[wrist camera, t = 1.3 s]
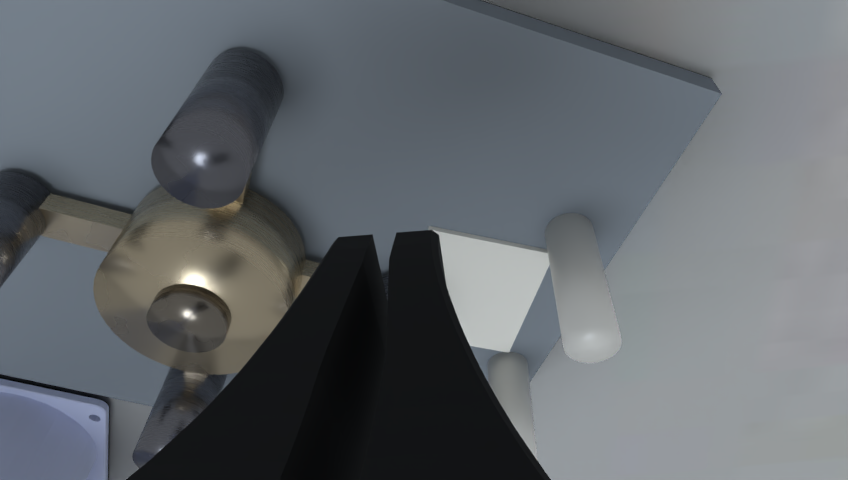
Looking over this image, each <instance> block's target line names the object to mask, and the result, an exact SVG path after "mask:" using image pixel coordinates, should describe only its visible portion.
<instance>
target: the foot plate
mask: <svg viewBox="0 0 848 480" xmlns="http://www.w3.org/2000/svg"><path fill="white" fill-rule="evenodd" d="M230 50H247V51H251V52H253V53H256V54H258V55H260V56H262V57H263V58H265V59H266V60H267V61H269V62H270V63H271V64H272V65H273V66H274V68H275V69H276V70H277V72H278V73H279V75H280V77H281V79H282V83H283V88H284V95H283V100H282V103H281V105H280V108H279V110H278V112H277V114H276V117H275V119H274V121H273V124H272V126H271V128H270V131H269V133H268V135H267V137H266V140H265V142H264V144H263V147H262V149H261V151H260V153H259V156H258V158H257V160H256V163H255V165H254V167H253V169H252V173H251V179H250V185H249V189H250V190H252V191H254V192H256V193H258V194H260V195H261V196H263V197H265V198H266V199H268V200H269V201H271V202H272V203H273V204H275V205H276V206H277V207H278V208H279V209H280V210H282V211H283V212H284V213H285V214H286V216H287V217H288V218H289V219H290V220H291V221H292V223H293V224H294V226H295V227H296V228H297V230H298V232H299V234H300V236H301V238H302V241H303V244H304V247H305V252H306V259H307V260H311V261H315V262H318V263H320V262H321V261H322V259H323V258H324V256H325V255H326V253H327V252H328V250H329V248H330V247H331V245H332V244H333V242H334V241H335V240H336V239H337V238H338V237H345V236H358V235H371V234H373V239H374V243H375V248H376V252H377V256H378V261H379V265H380V269H381V274H382V277H383V276H385V275H389V258H390V254H391V250H392V246H393V242H394V239H395V236H396V233H397V232H410V231H423V230H428V227H429V226H432V227H437V228H442V229H447V230H452V231H457V232H462V233H467V234H472V235H477V236H482V237H487V238H492V239H497V240H502V241H507V242H512V243H517V244H522V245H527V246H532V247H537V248H542V249H547V245H546V239H545V229H546V227H547V225H548V224H549V222H550V221H551V220H552V219H554V218H555V217H557V216H559V215H562V214H566V213H577V214H581V215H583V216H585V217H586V218H588V219H589V220H590V221H591V223H592V226H593V229H594V233H595V237H596V241H597V245H598V249H599V252H600V256H601V260H602V264H603V268H604V270H605V269H606V267H607V266H608V264H609V263H610V261H611V260H612V258H613V257H614V255H615V254H616V252H617V251H618V249H619V248H620V246H621V245H622V243H623V242H624V240H625V239H626V237H627V236H628V234H629V233H630V231H631V230H632V228H633V227H634V225H635V224H636V222H637V221H638V219H639V218H640V216H641V215H642V213H643V212H644V210H645V209H646V207H647V206H648V204H649V203H650V201H651V200H652V198H653V197H654V195H655V194H656V192H657V191H658V189H659V188H660V186H661V185H662V183H663V182H664V180H665V179H666V177H667V176H668V174H669V173H670V171H671V170H672V168H673V167H674V165H675V164H676V162H677V161H678V159H679V158H680V156H681V155H682V153H683V152H684V150H685V149H686V147H687V146H688V144H689V143H690V141H691V140H692V138H693V137H694V135H695V133H696V132H697V130H698V129H699V127H700V126H701V124H702V123H703V121H704V120H705V118H706V117H707V115H708V114H709V112H710V111H711V109H712V108H713V106H714V105H715V103H716V102H717V100H718V99H719V97H720V96H721V94H722V93H721V92H720V90H719V89H718V87H717V86H716V84H715V83H714V81H713V80H712V78H709V77H706V76H703V75H700V74H697V73H694V72H691V71H688V70H685V69H682V68H679V67H676V66H673V65H670V64H667V63H665V62H662V61H659V60H656V59H653V58H650V57H647V56H644V55H641V54H638V53H635V52H632V51H629V50H626V49H623V48H620V47H617V46H614V45H611V44H608V43H605V42H602V41H599V40H596V39H593V38H590V37H587V36H585V35H582V34H579V33H576V32H573V31H570V30H567V29H564V28H561V27H558V26H555V25H552V24H549V23H546V22H543V21H540V20H537V19H534V18H531V17H528V16H525V15H522V14H519V13H516V12H513V11H510V10H507V9H505V8H502V7H499V6H496V5H493V4H490V3H487V2H484V1H481V0H0V173H3V172H14V173H20V174H23V175H26V176H28V177H31V178H32V179H34V180H36V181H38V182H39V183H40V184H42V185H43V186H44V187H45V188H46V189H47V190H48V191H49V192H50V193H51V194H55V195H59V196H63V197H66V198H70V199H74V200H78V201H82V202H86V203H90V204H94V205H97V206H101V207H105V208H109V209H113V210H117V211H121V212H125V213H128V214H133V212H134V211H135V209H136V208H137V206H138V204H139V203H140V202H141V201H142V200H143V198H144V197H145V196H146V195H148V194H149V193H150V192H151V191H153V190H154V189H156V188H158V187H160V186H161V184H160V183H159V182H158V180H157V179H156V177H155V175H154V172H153V169H152V165H151V155H152V151H153V148H154V146H155V144H156V143H157V141H158V140H159V138H160V137H161V136H162V134H163V133H164V131H165V130H166V128H167V127H168V125H169V124H170V122H171V121H172V119H173V118H174V116H175V115H176V113H177V112H178V111H179V109H180V108H181V106H182V105H183V103H184V102H185V100H186V99H187V97H188V96H189V94H190V93H191V91H192V90H193V88H194V87H195V86H196V84H197V83H198V81H199V80H200V78H201V77H202V75H203V74H204V72H205V71H206V69H207V68H208V66H209V65H210V64H211V62H212V61H213V60H214V59H215V58H216V57H217V56H218V55H220V54H221V53H224V52H226V51H230ZM107 253H108V252H104V251H100V250H96V249H92V248H88V247H84V246H80V245H76V244H72V243H68V242H64V241H60V240H56V239H52V238H48V237H44V236H40V238H39V239H38V240H37V241H36V243H35V244H34V245H33V247H32V248H31V249H30V250H29V252H28V253H27V254H26V256H25V257H24V258H23V259H22V261H21V262H20V263H19V265H18V266H17V267H16V268H15V270H14V271H13V272H12V274H11V275H10V276H9V277H8V279H7V280H6V281H5V282H4V284H3V285H2V286H1V288H0V374H2V375H7V376H12V377H16V378H21V379H26V380H30V381H35V382H40V383H44V384H49V385H54V386H59V387H63V388H68V389H73V390H77V391H82V392H87V393H91V394H96V395H101V396H105V397H110V398H115V399H120V400H124V401H129V402H134V403H138V404H143V405H148V406H152V407H153V406H154V404H155V401H156V399H157V397H158V394H159V392H160V390H161V388H162V385H163V383H164V381H165V378H166V376H167V374H168V371H169V369H170V367H169V366H166V365H163V364H161V363H158V362H156V361H154V360H152V359H150V358H148V357H146V356H144V355H142V354H140V353H139V352H137V351H136V350H134V349H133V348H131V347H130V346H128V345H127V344H126V343H125V342H123V341H122V340H121V339H120V338H119V337H118V336H117V335H116V334H115V333H114V332H113V331H112V330H111V329H110V328H109V326H108V325H107V324H106V323H105V321H104V320H103V318H102V316H101V315H100V313H99V310H98V308H97V306H96V302H95V299H94V292H93V285H94V278H95V275H96V272H97V270H98V268H99V266H100V265H101V263H102V261H103V260H104V258H105V257H106V255H107ZM560 336H561V331H560V325H559V318H558V312H557V306H556V300H555V294H554V288H553V282H552V276H551V270H550V265H549V267H548V269H547V271H546V274H545V276H544V278H543V280H542V282H541V284H540V287H539V289H538V291H537V293H536V295H535V297H534V300H533V302H532V304H531V306H530V308H529V310H528V313H527V315H526V317H525V319H524V321H523V323H522V326H521V328H520V330H519V332H518V334H517V336H516V339H515V341H514V343H513V345H512V347H511V349H510V352H515V353H518V354H521V355H522V356H524V357H525V359H526V360H527V363H528V373H529V382H530V381H531V380H532V378H533V377H534V375H535V374H536V372H537V371H538V369H539V368H540V366H541V365H542V363H543V362H544V360H545V359H546V357H547V356H548V354H549V353H550V351H551V350H552V348H553V347H554V345H555V344H556V342H557V341H558V339H559V338H560ZM470 347H471V349H472V351H473V354H474V356H475V358H476V360H477V362H478V364H479V366H480V368H481V370H482V372H483V374H484V375H485V377H486V379H487V381H488V361H489V360H490V358H491V357H492V356H494V355H496V354H498V353H501V351H496V350H490V349H485V348H479V347H474V346H470ZM236 375H237V373H232V374H228V375H227V378H226V381H225V384H224V387H223V389H224V388H225V387H226V386H227V385H228V384H229V382H230V381H231V380H232V379H233V378H234V377H235V376H236Z"/></svg>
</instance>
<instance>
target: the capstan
mask: <svg viewBox="0 0 848 480" xmlns="http://www.w3.org/2000/svg"><path fill="white" fill-rule="evenodd" d="M283 95H284V88H283V83H282V79H281V77H280V75H279V73H278V72H277V70H276V69H275V68H274V66H273V65H272V64H271V63H270V62H269V61H267V60H266V59H265V58H263V57H262V56H260V55H258V54H256V53H253V52H251V51H247V50H230V51H226V52H224V53H221V54H220V55H218V56H217V57H216V58H215V59H214V60H213V61H212V62H211V64H210V65H209V66H208V68H207V69H206V71H205V72H204V74H203V75H202V77H201V78H200V80H199V81H198V83H197V84H196V86H195V87H194V88H193V90H192V91H191V93H190V94H189V96H188V97H187V99H186V100H185V102H184V103H183V105H182V106H181V108H180V109H179V111H178V112H177V113H176V115H175V116H174V118H173V119H172V121H171V122H170V124H169V125H168V127H167V128H166V130H165V131H164V133H163V134H162V136H161V137H160V138H159V140H158V141H157V143H156V144H155V146H154V148H153V151H152V155H151V165H152V169H153V172H154V175H155V177H156V179H157V180H158V182H159V183H160V184H161V186H160V187H158V188H156V189H154V190H153V191H151V192H150V193H149V194H148V195H146V196H145V197H144V198H143V200H142V201H141V202H140V203H139V204H138V206H137V208H136V209H135V211H134V212H133V214H128V213H125V212H121V211H117V210H113V209H109V208H105V207H101V206H97V205H94V204H90V203H86V202H82V201H78V200H74V199H70V198H66V197H63V196H59V195H55V194H51V193H50V192H49V191H48V190H47V189H46V188H45V187H44V186H43V185H42V184H40V183H39V182H38V181H36V180H34V179H32V178H31V177H28V176H26V175H23V174H20V173H14V172H3V173H0V288H1V286H2V285H3V284H4V282H5V281H6V280H7V279H8V277H9V276H10V275H11V274H12V272H13V271H14V270H15V268H16V267H17V266H18V265H19V263H20V262H21V261H22V259H23V258H24V257H25V256H26V254H27V253H28V252H29V250H30V249H31V248H32V247H33V245H34V244H35V243H36V241H37V240H38V239H39V238H40V236H44V237H48V238H52V239H56V240H60V241H64V242H68V243H72V244H76V245H80V246H84V247H88V248H92V249H96V250H100V251H104V252H108V253H107V255H106V257H105V258H104V260H103V261H102V263H101V265H100V266H99V268H98V270H97V272H96V275H95V278H94V285H93V292H94V299H95V302H96V306H97V308H98V310H99V313H100V315H101V316H102V318H103V320H104V321H105V323H106V324H107V325H108V326H109V328H110V329H111V330H112V331H113V332H114V333H115V334H116V335H117V336H118V337H119V338H120V339H121V340H122V341H123V342H125V343H126V344H127V345H128V346H130V347H131V348H133V349H134V350H136V351H137V352H139V353H140V354H142V355H144V356H146V357H148V358H150V359H152V360H154V361H156V362H158V363H161V364H163V365H166V366H169V367H170V369H169V371H168V374H167V376H166V378H165V381H164V383H163V385H162V388H161V390H160V392H159V394H158V397H157V399H156V401H155V404H154V406H153V408H152V411H151V413H150V415H149V418H148V420H147V422H146V425H145V427H144V429H143V432H142V434H141V436H140V439H139V441H138V443H137V446H136V448H135V450H134V453H133V460H134V462H135V464H136V465H137V466H138V467H139V468H141V467H142V466H143V465H145V464H146V463H147V462H148V461H149V460H150V459H152V458H153V457H154V456H155V455H156V454H157V453H158V452H159V451H160V450H161V449H163V448H164V447H165V446H166V445H167V444H168V443H169V442H170V441H171V440H172V439H173V438H175V437H176V436H177V435H178V434H179V433H180V432H181V431H182V430H183V429H184V428H185V427H187V426H188V425H189V424H190V423H191V422H192V421H193V420H194V419H195V418H196V417H197V416H198V415H199V414H200V413H201V412H202V411H203V410H204V409H205V408H206V407H207V406H208V405H209V404H210V403H211V402H212V401H213V400H214V399H215V398H216V396H217V395H218V394H219V393H220V392H221V391H222V390H223V387H224V384H225V381H226V378H227V375H228V374H232V373H238V372H239V371H240V370H241V369H242V368H243V367H244V365H245V364H246V363H247V362H248V361H249V359H250V358H251V357H252V356H253V354H254V353H255V352H256V351H257V349H258V348H259V347H260V346H261V344H262V343H263V342H264V341H265V339H266V338H267V337H268V336H269V334H270V333H271V332H272V331H273V329H274V328H275V327H276V325H277V324H278V323H279V321H280V320H281V319H282V317H283V316H284V315H285V313H286V312H287V310H288V309H289V308H290V306H291V305H292V303H293V302H294V301H295V299H296V298H297V296H298V295H299V294H300V292H301V291H302V289H303V288H304V286H305V285H306V283H307V282H308V280H309V279H310V278H311V276H312V275H313V273H314V272H315V270H316V269H317V267H318V265H319V264H320V263H318V262H315V261H311V260H307V259H306V252H305V247H304V244H303V241H302V238H301V236H300V234H299V232H298V230H297V228H296V227H295V226H294V224H293V223H292V221H291V220H290V219H289V218H288V217H287V216H286V214H285V213H284V212H283V211H282V210H280V209H279V208H278V207H277V206H276V205H275V204H273V203H272V202H271V201H269V200H268V199H266V198H265V197H263V196H261V195H260V194H258V193H256V192H254V191H252V190H250V189H249V185H250V179H251V173H252V169H253V167H254V165H255V163H256V160H257V158H258V156H259V153H260V151H261V149H262V147H263V144H264V142H265V140H266V137H267V135H268V133H269V131H270V128H271V126H272V124H273V121H274V119H275V117H276V114H277V112H278V110H279V108H280V105H281V103H282V100H283ZM388 276H389V275H385V276H383V277H382V278H383V283H384V287H385V291H386V296H387V300H388Z"/></svg>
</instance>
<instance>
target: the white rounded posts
mask: <svg viewBox="0 0 848 480" xmlns="http://www.w3.org/2000/svg"><path fill="white" fill-rule="evenodd" d="M428 230H433V231H434V232H436V233H437V234H438V235H439V239H440V245H441V252H442V259H443V266H444V273H445V279H446V286H447V289H448V292H449V295H450V298H451V301H452V304H453V306H454V309H455V312H456V314H457V317H458V320H459V322H460V325H461V327H462V329H463V332H464V334H465V336H466V338H467V341H468V343H469V345H470V346H474V347H479V348H485V349H490V350H496V351H501V353H498V354H496V355H494V356H492V357H491V358H490V360H489V361H488V383H489V385H490V386H491V388H492V390H493V392H494V394H495V395H496V397H497V399H498V401H499V402H500V404H501V406H502V407H503V409H504V411H505V412H506V414H507V416H508V417H509V419H510V421H511V422H512V424H513V425H514V427H515V429H516V430H517V431H518V433H519V434H520V436H521V437H522V439H523V440H524V442H525V443H526V445H527V446H528V448H529V449H530V451H531V452H532V454H533V455H534V456H535V458H536V459H537V461H538V457H537V448H536V439H535V429H534V420H533V410H532V401H531V391H530V382H529V373H528V363H527V360H526V359H525V357H524V356H522V355H521V354H518V353H515V352H510V349H511V347H512V345H513V343H514V341H515V339H516V336H517V334H518V332H519V330H520V328H521V326H522V323H523V321H524V319H525V317H526V315H527V313H528V310H529V308H530V306H531V304H532V302H533V300H534V297H535V295H536V293H537V291H538V289H539V287H540V284H541V282H542V280H543V278H544V276H545V274H546V271H547V269H548V267H549V265H550V270H551V276H552V282H553V288H554V294H555V300H556V306H557V312H558V318H559V325H560V331H561V337H562V343H563V349H564V352H565V353H566V355H567V356H568V357H569V358H571V359H573V360H575V361H577V362H581V363H598V362H602V361H605V360H607V359H609V358H611V357H613V356H614V355H615V354H616V353H617V352H618V351H619V350H620V348H621V345H622V338H621V334H620V330H619V326H618V322H617V318H616V314H615V310H614V307H613V303H612V299H611V295H610V291H609V287H608V283H607V280H606V276H605V272H604V268H603V264H602V260H601V256H600V252H599V249H598V245H597V241H596V237H595V233H594V229H593V226H592V223H591V221H590V220H589V219H588V218H586V217H585V216H583V215H581V214H577V213H566V214H562V215H559V216H557V217H555V218H554V219H552V220H551V221H550V222H549V224H548V225H547V227H546V229H545V239H546V245H547V249H542V248H537V247H532V246H527V245H522V244H517V243H512V242H507V241H502V240H497V239H492V238H487V237H482V236H477V235H472V234H467V233H462V232H457V231H452V230H447V229H442V228H437V227H432V226H429V227H428Z"/></svg>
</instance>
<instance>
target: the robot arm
mask: <svg viewBox="0 0 848 480" xmlns="http://www.w3.org/2000/svg"><path fill="white" fill-rule="evenodd" d="M108 434H109V406H108V404H107V403H106V402H104V401H102V400H99V399H95V398H91V397H86V396H81V395H77V394H72V393H67V392H62V391H58V390H53V389H48V388H43V387H39V386H34V385H29V384H25V383H20V382H15V381H10V380H6V379H1V378H0V480H108ZM126 480H551V479H550V478H549V477H548V475H547V474H546V473H545V471H544V470H543V468H542V467H541V465H540V464H539V462H538V461H537V459H536V458H535V456H534V455H533V454H532V452H531V451H530V449H529V448H528V446H527V445H526V443H525V442H524V440H523V439H522V437H521V436H520V434H519V433H518V431H517V430H516V429H515V427H514V425H513V424H512V422H511V421H510V419H509V417H508V416H507V414H506V412H505V411H504V409H503V407H502V406H501V404H500V402H499V401H498V399H497V397H496V395H495V394H494V392H493V390H492V388H491V386H490V385H489V383H488V381H487V379H486V377H485V375H484V374H483V372H482V370H481V368H480V366H479V364H478V362H477V360H476V358H475V356H474V354H473V351H472V349H471V347H470V345H469V343H468V341H467V338H466V336H465V334H464V332H463V329H462V327H461V325H460V322H459V320H458V317H457V314H456V312H455V309H454V306H453V304H452V301H451V298H450V295H449V292H448V289H447V286H446V279H445V273H444V266H443V259H442V252H441V245H440V239H439V235H438V234H437V233H436V232H434V231H433V230H423V231H410V232H397V233H396V236H395V239H394V242H393V246H392V250H391V254H390V258H389V276H388V300H387V296H386V291H385V287H384V283H383V278H382V274H381V269H380V265H379V261H378V256H377V252H376V248H375V243H374V239H373V234H371V235H358V236H345V237H338V238H337V239H336V240H335V241H334V242H333V244H332V245H331V247H330V248H329V250H328V252H327V253H326V255H325V256H324V258H323V259H322V261H321V262H320V264H319V265H318V267H317V269H316V270H315V272H314V273H313V275H312V276H311V278H310V279H309V280H308V282H307V283H306V285H305V286H304V288H303V289H302V291H301V292H300V294H299V295H298V296H297V298H296V299H295V301H294V302H293V303H292V305H291V306H290V308H289V309H288V310H287V312H286V313H285V315H284V316H283V317H282V319H281V320H280V321H279V323H278V324H277V325H276V327H275V328H274V329H273V331H272V332H271V333H270V334H269V336H268V337H267V338H266V339H265V341H264V342H263V343H262V344H261V346H260V347H259V348H258V349H257V351H256V352H255V353H254V354H253V356H252V357H251V358H250V359H249V361H248V362H247V363H246V364H245V365H244V367H243V368H242V369H241V370H240V371H239V372H238V373H237V375H236V376H235V377H234V378H233V379H232V380H231V381H230V382H229V384H228V385H227V386H226V387H225V388H224V389H223V390H222V391H221V392H220V393H219V394H218V395H217V396H216V398H215V399H214V400H213V401H212V402H211V403H210V404H209V405H208V406H207V407H206V408H205V409H204V410H203V411H202V412H201V413H200V414H199V415H198V416H197V417H196V418H195V419H194V420H193V421H192V422H191V423H190V424H189V425H188V426H187V427H185V428H184V429H183V430H182V431H181V432H180V433H179V434H178V435H177V436H176V437H175V438H173V439H172V440H171V441H170V442H169V443H168V444H167V445H166V446H165V447H164V448H163V449H161V450H160V451H159V452H158V453H157V454H156V455H155V456H154V457H153V458H152V459H150V460H149V461H148V462H147V463H146V464H145V465H143V466H142V467H141V468H140V469H139V470H137V471H136V472H135V473H134V474H132V475H131V476H130V477H129V478H128V479H126Z"/></svg>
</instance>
